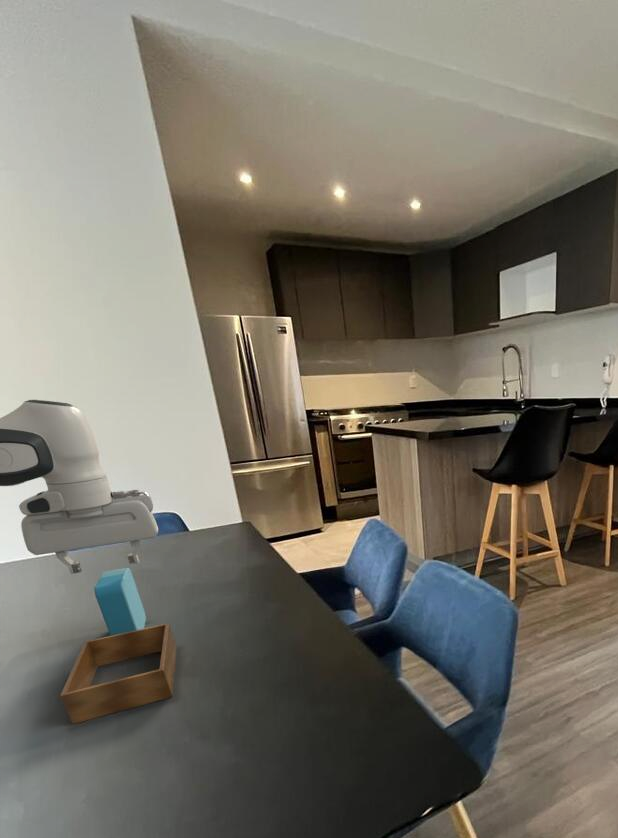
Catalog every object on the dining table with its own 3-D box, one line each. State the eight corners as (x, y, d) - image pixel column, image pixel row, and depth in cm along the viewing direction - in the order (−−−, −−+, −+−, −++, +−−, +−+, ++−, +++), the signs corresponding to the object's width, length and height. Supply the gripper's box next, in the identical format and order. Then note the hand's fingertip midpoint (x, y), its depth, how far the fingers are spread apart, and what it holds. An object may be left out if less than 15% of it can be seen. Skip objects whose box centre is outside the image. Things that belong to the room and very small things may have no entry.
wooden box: (72, 724, 72) (59, 696, 70) (94, 665, 87) (84, 641, 85) (172, 696, 77) (163, 669, 75) (176, 646, 92) (169, 622, 90)
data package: (122, 622, 103) (103, 569, 99) (146, 617, 105) (129, 565, 100) (114, 647, 93) (92, 590, 89) (141, 641, 95) (121, 584, 90)
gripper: (149, 485, 95) (168, 553, 100) (18, 500, 87) (46, 572, 92) (146, 491, 90) (166, 562, 95) (6, 507, 82) (37, 583, 87)
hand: (106, 567), depth 93 cm, fingers open, 8 cm apart
